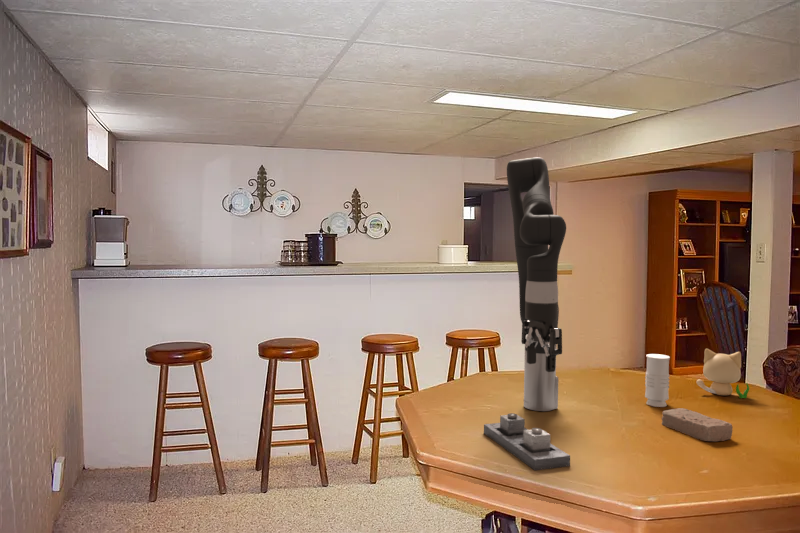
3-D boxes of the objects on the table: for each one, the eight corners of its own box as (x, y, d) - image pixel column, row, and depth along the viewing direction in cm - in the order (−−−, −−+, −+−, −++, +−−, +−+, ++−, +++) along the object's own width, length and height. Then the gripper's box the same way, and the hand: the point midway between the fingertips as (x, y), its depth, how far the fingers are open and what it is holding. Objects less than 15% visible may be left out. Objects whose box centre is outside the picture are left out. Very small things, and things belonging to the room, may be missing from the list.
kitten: (749, 394, 201) (751, 349, 200) (747, 401, 192) (749, 354, 191) (699, 388, 209) (701, 344, 208) (695, 394, 200) (697, 349, 199)
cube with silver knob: (539, 453, 146) (540, 425, 146) (549, 459, 142) (550, 431, 141) (523, 455, 145) (523, 427, 144) (532, 461, 140) (533, 433, 140)
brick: (659, 425, 169) (660, 408, 169) (683, 422, 172) (683, 405, 172) (708, 445, 154) (709, 427, 153) (733, 441, 156) (734, 423, 156)
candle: (644, 405, 187) (645, 357, 186) (644, 400, 193) (646, 353, 192) (668, 408, 184) (670, 359, 183) (668, 402, 191) (669, 355, 190)
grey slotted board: (514, 430, 163) (514, 421, 163) (570, 466, 138) (570, 455, 138) (483, 433, 160) (483, 424, 160) (534, 470, 135) (535, 459, 135)
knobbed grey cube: (515, 436, 158) (516, 411, 157) (524, 442, 153) (524, 416, 153) (499, 438, 156) (500, 412, 156) (508, 444, 152) (508, 418, 151)
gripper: (572, 302, 138) (571, 373, 140) (539, 295, 152) (538, 359, 153) (543, 304, 136) (542, 375, 137) (512, 296, 150) (512, 362, 151)
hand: (540, 367), depth 145 cm, fingers open, 8 cm apart
